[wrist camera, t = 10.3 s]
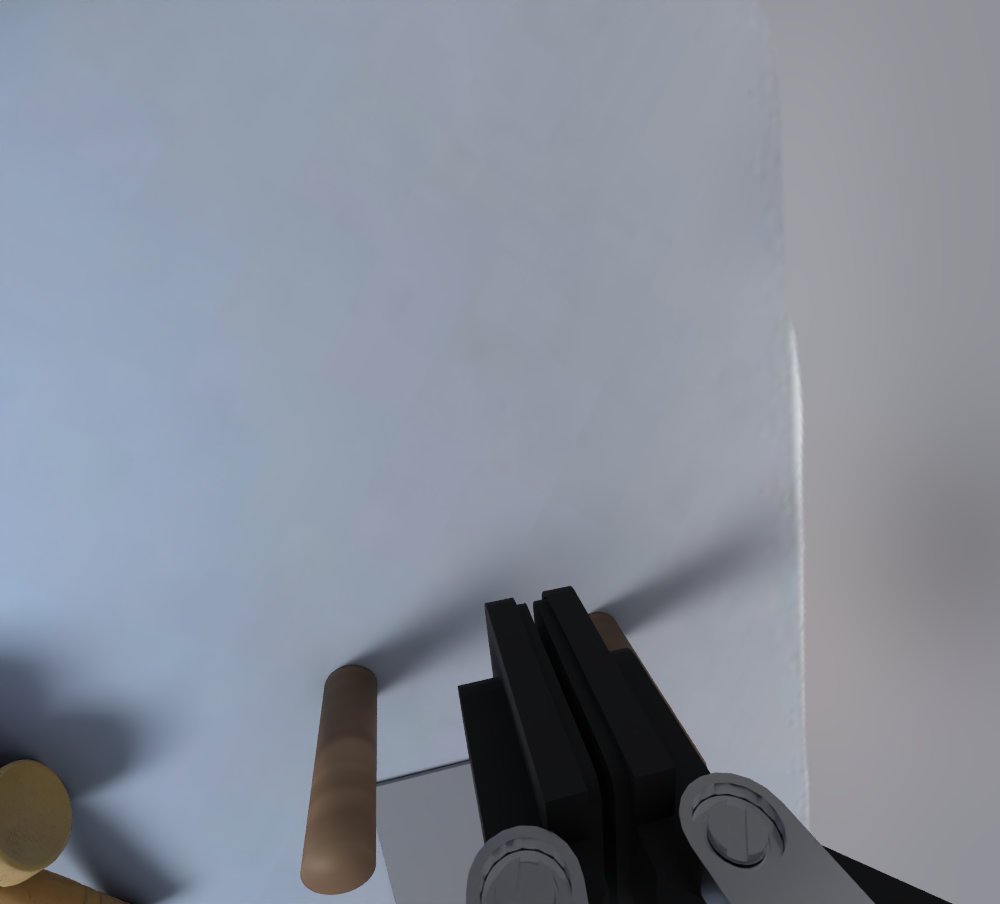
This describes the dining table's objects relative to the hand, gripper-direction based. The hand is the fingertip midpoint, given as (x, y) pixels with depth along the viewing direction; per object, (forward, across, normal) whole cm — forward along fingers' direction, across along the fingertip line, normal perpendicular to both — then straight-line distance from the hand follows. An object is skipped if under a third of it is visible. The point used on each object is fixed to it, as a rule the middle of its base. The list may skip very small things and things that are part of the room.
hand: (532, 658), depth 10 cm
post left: (+15, +7, +13) cm, 21 cm away
